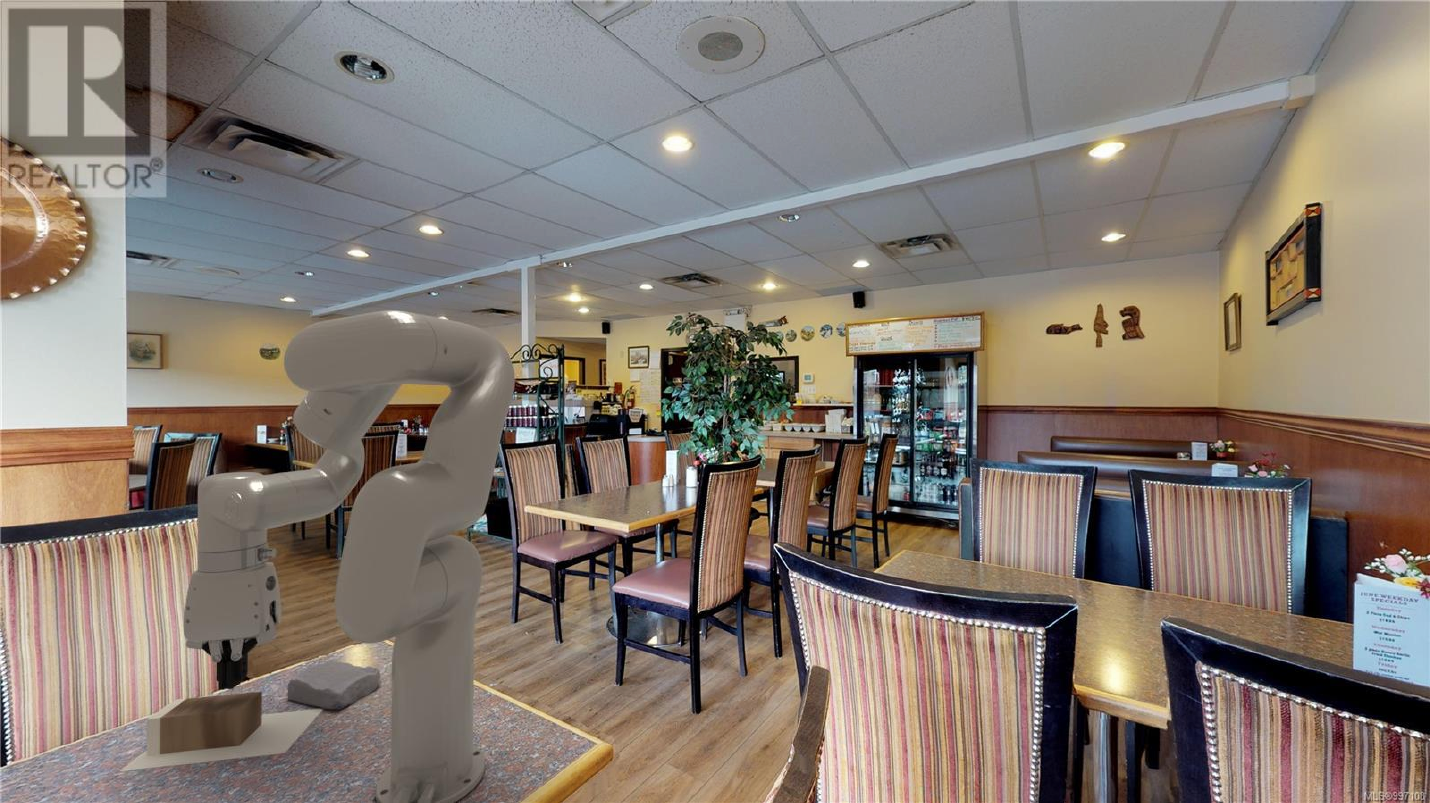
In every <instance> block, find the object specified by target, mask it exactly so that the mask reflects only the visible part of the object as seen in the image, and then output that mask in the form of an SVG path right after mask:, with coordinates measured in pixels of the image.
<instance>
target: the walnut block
mask: <svg viewBox="0 0 1430 803" xmlns="http://www.w3.org/2000/svg"><path fill="white" fill-rule="evenodd" d="M262 693H263V692H262V691H254V692H245V693H243V692H242V693H233V694H231V693H230V694H222V695H210V696H209V695H208V696H202V697H201V696H200V697H199V696H198V697H190V698H189V697H188V698H187V697H186V698H179V699H174V700H172V701H171V702H169V703H168V704H167V705H165V706H164V707H162V708H161V709H160V710H158V711H157V712H155V713H154V714H153V715H151V716H149V717H148V718H147V719H146V750H147V756H149V755H158V754H167V753H176V752H185V751H195V750H204V749H213V748H222V747H231V746H240V745H241V744H242V743H243V742H244V741H245V740H246V739H247V738H248V737H249V736H250V735H251V734H252V733H253V732H254V731H255V730H257V729H258V728H259V727H260V726H261V718H262V712H263V710H262V707H263V706H262V702H263V701H262V699H263V698H262V697H263V694H262Z"/></svg>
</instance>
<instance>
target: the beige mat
mask: <svg viewBox="0 0 1430 803" xmlns="http://www.w3.org/2000/svg"><path fill="white" fill-rule="evenodd" d="M324 710H325V709H324V708H315V709H313V708H312V709H306V710H304V709H303V710H294V711H284V712H273V713H264V714H262V718H261V726H260V727H259V728H258V729H257V730H255V731H254V732H253V733H252V734H251V735H250V736H249V737H248V738H247V739H246V740H245V741H244V742H243V743H242V744H241V745H240V746H231V747H222V748H213V749H204V750H195V751H185V752H176V753H167V754H158V755H149V756H147V749H146V750H145V751H143V752H142V753H141V754H139V755H138V756H137V757H135V759H133V760H132V761H130V763H128V764H126V766H124V767H123V768H122V769H121V770H119V771H118V772H120V773H121V772H122V773H123V772H129V771H130V772H131V771H138V770H147V769H148V770H149V769H156V768H164V767H172V766H173V767H174V766H182V765H183V766H184V765H189V764H190V765H191V764H200V763H207V762H208V763H210V762H216V761H226V760H227V761H228V760H234V759H243V758H244V759H245V758H253V757H262V756H271V755H279V754H285V753H286V752H287V751H288V750H289V749H290V748H291V746H293V745H294V743H295V742H296V741H297V740H298V738H300V737H301V735H302V734H304V732H305V731H306V730H307V729H308V727H309V726H310V725H311V724H312V723H313V722H314V721H315V719H316V718H317V717H318V716H319V715H320V714H321V713H322V712H323V711H324Z"/></svg>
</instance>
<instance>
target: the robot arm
mask: <svg viewBox="0 0 1430 803" xmlns="http://www.w3.org/2000/svg"><path fill="white" fill-rule="evenodd" d="M283 356H284V357H283V367H284V371H285V374H286V376H287V378H288V379H289V381H291V383H292V384H293V385H294V386H296V387H298V388H299V389H300V390H301V389H302V390H304V391H307V394H306V395H305V396H304V398H303V399H302V401H301V402H300V403H299V405H297V407H296V409H295V410H294V413H293V418H292V419H293V424H294V426H295V428H296V430H297V431H298V432H299V433H300V434H301V435H302V436H303V437H305V439H307V440H309V441H310V442H312V443H313V444H315V445H317V446H320V447H321V448H324V449H325V451H324V452H323V454H322V455H321V457H320V458H319V459H318V461H317V462H316V463H315V464H314V465H313V466H312V467H311V468H310V469H303V470H302V469H301V470H294V471H287V472H286V471H285V472H278V473H271V474H262V473H260V472H251V471H238V472H237V471H236V472H235V471H234V472H224V473H218V474H211V475H209V476H206V477H204V478H202V479H201V480H200V482H199V483H198V487H197V556H196V558H197V559H196V560H197V561H196V562H197V564H196V565H197V566H196V567H197V569H196V570H195V571H193V572H192V575H191V577H190V580H189V583H188V587H187V591H186V595H185V597H186V598H185V602H184V611H183V636H184V638H185V640H186V643H185V646H186V648H187V649H194V650H203V652H205V653H206V654H207V655H209V656H210V658H211V661H212V663H216V678H215V679H216V682H218V683H217V684H218V686H217V687H218V689H217V690H218V691H222V690H223V691H224V690H225V689H227V690H233V689H234V688H236V687H237V686H238V685H239V684H241V683H242V682H243V681H244V680H245V678H246V677H247V676H248V671H249V670H248V669H249V668H248V665H249V664H248V663H249V662H248V661H249V659H248V658H249V657H248V655H249V653H250V652H251V651H252V650H253V649H254V648H255V647H257V646H260V645H263V644H267V643H270V642H272V641H274V640H275V639H276V638H277V637H278V632H277V629H276V626H277V625H278V624H280V622H281V621H282V620H281V619H282V604H281V603H282V601H281V593H280V592H281V591H280V583H279V579H278V574H277V570H276V567H275V563H274V562H272V561H268V560H269V559H274V558H276V557H277V553H278V552H277V549H276V548H271V547H269V542H268V538H267V536H268V530H270V529H274V528H278V527H283V526H285V525H290V524H295V523H300V522H305V521H309V520H314V519H315V520H316V519H318V518H321V517H324V516H326V515H329V514H331V513H332V512H333V511H334V510H336V509H337V508H338V507H339V506H340V505H341V504H343V502H344V501H345V500H346V498H348V496H349V494H351V492H352V490H353V489H354V488H355V487H356V485H357V484H358V482H359V481H360V479H361V478H362V474H363V472H364V468H365V467H364V466H365V458H366V457H365V448H364V444H363V441H362V439H363V437H364V436H365V435H366V433H367V432H368V431H369V430H370V428H372V426H373V424H374V422H375V421H376V420H377V419H378V417H379V416H380V414H381V413H382V412H384V410H385V408H386V406H388V404H389V403H390V402H391V401H392V399H393V398H394V396H395V394H396V393H397V392H398V390H400V388H401V387H402V386H403V385H420V386H421V385H424V386H446V387H448V388H449V389H450V392H449V394H448V395H447V396H446V398H445V399H444V400H443V402H441V404H440V405H439V407H438V408H437V410H436V411H435V413H434V416H433V417H432V419H431V422H430V424H429V428H428V434H427V439H426V442H425V447H424V450H423V452H422V456H421V457H420V459H419V460H418V461H417V462H412V463H407V464H401V465H396V466H391V467H388V468H385V469H382V470H381V471H378V472H377V473H376V474H374V475H373V476H371V477H370V478H369V479H368V480H367V481H366V482H365V483H364V485H363V486H362V487H361V489H360V491H359V492H358V494H357V496H356V497H355V499H354V502H353V505H352V508H351V513H350V516H349V520H348V525H347V530H346V536H345V540H344V545H343V550H342V554H341V559H340V564H339V565H340V566H339V569H338V574H337V579H336V584H335V591H334V592H335V593H334V611H335V616H336V620H337V623H338V624H339V626H340V628H341V630H342V631H343V632H344V634H345V635H347V636H348V638H349V639H351V640H354V641H355V642H358V643H362V644H376V643H382V642H384V641H385V642H386V641H387V640H390V639H394V643H393V647H392V655H391V688H390V689H391V690H390V691H391V693H390V694H391V696H390V697H391V699H390V766H389V767H388V768H387V769H386V770H385V771H384V772H383V773H382V775H381V776H380V778H379V779H378V781H377V784H376V787H375V800H376V803H456V802H457V801H460V800H461V799H462V798H464V797H465V796H467V795H468V794H469V793H470V792H471V791H473V790H474V789H475V787H476V786H477V785H478V784H479V783H480V781H481V780H482V779H483V778H482V777H483V776H484V773H485V771H486V757H485V753H484V752H483V751H482V749H480V748H479V747H478V746H476V745H475V744H474V684H475V683H474V681H475V680H474V674H475V672H474V669H475V668H474V667H475V666H474V664H475V663H474V662H475V658H474V657H475V627H476V615H477V609H478V604H479V598H480V593H481V590H482V589H481V588H482V582H483V575H484V574H483V572H484V571H483V562H482V557H481V555H480V553H479V551H478V549H477V548H476V546H475V545H474V544H473V543H472V542H471V541H470V540H468V539H467V538H464V537H462V536H459V535H453V534H455V533H458V532H460V531H464V530H466V529H468V528H469V527H471V526H473V525H474V524H476V523H477V522H478V521H479V520H480V519H481V518H482V516H483V514H484V512H485V510H486V506H487V503H488V500H489V496H490V491H491V487H492V482H493V476H494V472H495V468H496V463H497V458H498V454H499V449H500V444H501V439H502V434H503V430H504V426H505V423H506V421H507V420H506V419H507V417H508V413H509V409H510V406H511V404H512V401H513V400H512V399H513V397H514V390H515V380H516V379H515V376H516V375H515V370H514V365H513V362H512V359H511V357H510V355H509V353H508V351H507V349H506V348H505V346H504V345H503V344H502V343H501V341H500V340H498V338H496V337H495V336H493V335H492V334H491V333H489V332H488V331H486V330H484V329H482V328H480V327H477V326H474V325H472V324H469V323H465V322H460V321H455V320H453V319H452V320H451V319H448V318H447V319H446V318H443V317H442V318H441V317H435V316H430V315H426V314H421V313H416V312H410V311H406V310H394V309H393V310H392V309H391V310H388V309H387V310H380V311H371V312H367V313H362V314H357V315H350V316H345V317H339V318H333V319H327V320H323V321H318V322H315V323H312V324H309V325H308V326H306V327H304V328H303V329H301V330H299V332H297V333H296V334H295V335H294V336H293V337H292V339H291V340H290V341H289V343H288V345H287V347H286V349H285V352H284V355H283Z"/></svg>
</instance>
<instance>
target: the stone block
mask: <svg viewBox="0 0 1430 803" xmlns="http://www.w3.org/2000/svg"><path fill="white" fill-rule="evenodd" d="M380 681H381V673H380V669H379V668H376V667H375V668H374V667H372V666H366V667H363V666H357V665H353V663H352V664H351V663H350V662H349V663H348V662H344V661H343V662H342V661H338V660H337V661H335V660H334V661H333V660H331V661H328V662H323V663H317V664H314V665H313V666H309V667H307V668H305V669H303V670H301V671H298V672H297V673H295V674H294V675H293V676H292V677H291V678H290V680H289V682H288V683H287V687H286V689H287V693H286V695H287V698H288V701H290V702H291V701H292V702H295V703H300V704H304V705H309V706H312V707H319V708H320V709H323V708H324V709H323V710H325V709H326V710H337V711H340V710H343V709H344V708H345V707H347V706H349V705H352V704H354V703H355V702H357V701H358V700H359V699H362V698H363V697H366V696H368V695H370V694H371V693H373V692H374V691H375V690H376V689H377V687H378V685H379V684H380Z"/></svg>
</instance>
